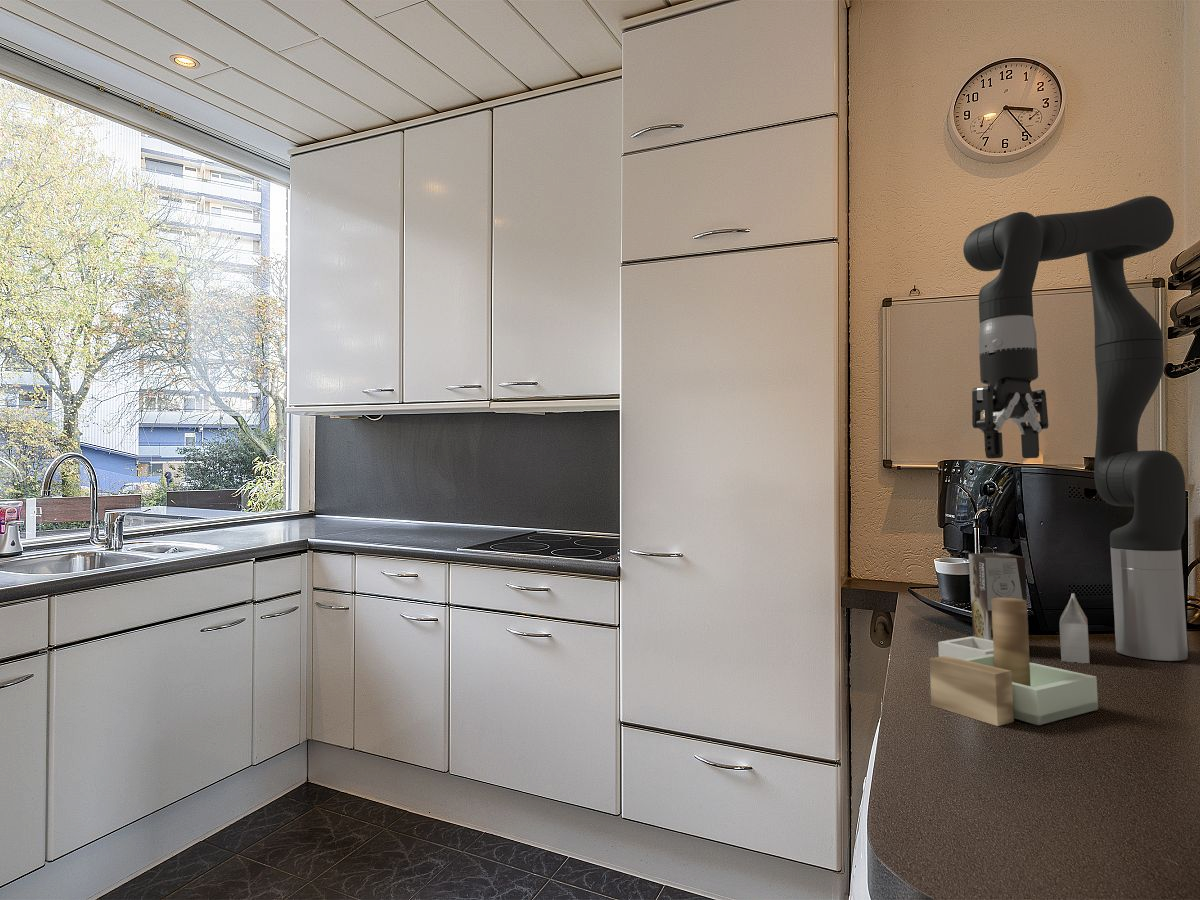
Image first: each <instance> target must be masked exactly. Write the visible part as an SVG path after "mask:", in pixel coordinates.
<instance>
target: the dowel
mask: <svg viewBox="0 0 1200 900" xmlns="http://www.w3.org/2000/svg"><path fill="white" fill-rule="evenodd" d="M991 604H992V626H993V648H994V667H997V668H1001V669H1005V670H1010V671H1011V672H1012V682H1014V683H1019V684H1023V685H1027V686H1031V682H1030V642H1029V641H1030V639H1029V640H1028V635H1029V619H1028V620H1027V615H1028V600H1027V601H1026V600H1022V599H1016V598H992V599H991Z"/></svg>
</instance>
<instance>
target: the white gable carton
mask: <svg viewBox="0 0 1200 900" xmlns="http://www.w3.org/2000/svg"><path fill="white" fill-rule="evenodd" d="M1088 624H1089V623H1088V617H1087V615H1086V614H1085V612H1084V611H1083V609H1082V608H1081V605H1080V604H1079V602H1078V600H1077V597H1076V593H1071V595H1070V599H1069V600H1068V603H1067V605H1066V606H1065V608H1064V610H1063V612H1062V614H1061V615H1060V618H1059V641H1060V658H1061V662H1065V661H1066V662H1067V663H1074V662H1077V663H1076V664H1084V663H1089V664H1088V665H1090V645H1089V644H1090V643H1089V641H1090V640H1089V628H1088V627H1089V626H1088Z"/></svg>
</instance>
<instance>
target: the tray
mask: <svg viewBox="0 0 1200 900" xmlns="http://www.w3.org/2000/svg"><path fill="white" fill-rule="evenodd" d="M962 660H967V661H971V662H975V663H979V664H984V665H988V666H992V667H994V654H988V655H982V656H977V657H971V658H966V659H962ZM1030 682H1031V686H1027V685H1023V684H1019V683H1014V682H1012V693H1013V713H1014V720H1015V719H1016V720H1019V721H1022V722H1026V723H1029V724H1033V725H1036V726H1042V725H1044V724H1049V723H1053V722H1056V721H1060V720H1063V719H1068V718H1071V717H1074V716H1078V715H1082V714H1086V713H1090V712H1093V711H1097V710H1099V699H1098V697H1099V696H1098V683H1097V682H1098V681H1097V676H1095V675H1091V674H1086V673H1081V672H1076V671H1071V670H1068V669H1064V668H1059V667H1055V666H1054V667H1053V666H1050V665H1049V666H1047V665H1044V664H1040V663H1039V664H1038V663H1034V662H1030Z"/></svg>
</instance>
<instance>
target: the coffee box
mask: <svg viewBox="0 0 1200 900" xmlns="http://www.w3.org/2000/svg"><path fill="white" fill-rule="evenodd" d="M968 567H969V569H968V570H969V571H968V572H969V582H970V583H969V587H970V603H971V604H970V605H971V620H972V621H971V622H972V637H977V638H982V639H987V640H992V641H993V626H992V604H991V599H992V598H1016V599H1022V600H1026V601H1027V602H1028V596H1027V595H1028V594H1027V574H1026V572H1027V571H1026V557H1024V556H1020V555H1017V554H1012V553H1008V552H982V553H975V552H974V553H971V552H970V553H968ZM1028 616H1029V614H1027V620H1028V621H1029V619H1028ZM1028 640H1029V641H1030V639H1029V634H1028Z"/></svg>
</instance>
